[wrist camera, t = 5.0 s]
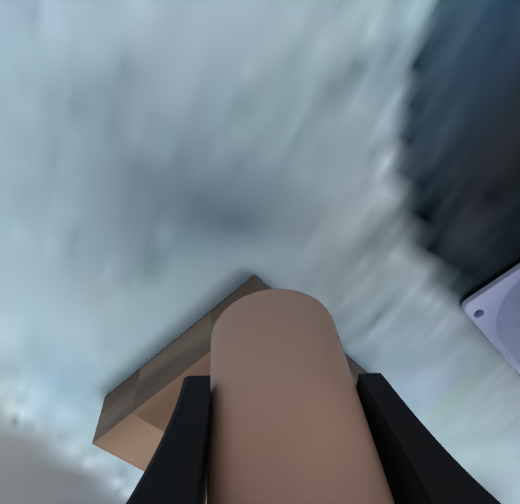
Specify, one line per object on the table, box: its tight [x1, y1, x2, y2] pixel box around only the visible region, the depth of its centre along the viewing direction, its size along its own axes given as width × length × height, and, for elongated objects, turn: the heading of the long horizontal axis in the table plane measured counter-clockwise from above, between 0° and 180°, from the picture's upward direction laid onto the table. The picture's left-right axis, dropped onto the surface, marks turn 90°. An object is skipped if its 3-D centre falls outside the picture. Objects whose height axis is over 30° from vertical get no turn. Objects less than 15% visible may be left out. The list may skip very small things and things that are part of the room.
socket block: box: [92, 275, 367, 504], centre depth 25 cm, size 11×11×3 cm
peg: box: [207, 289, 395, 504], centre depth 11 cm, size 4×4×8 cm
